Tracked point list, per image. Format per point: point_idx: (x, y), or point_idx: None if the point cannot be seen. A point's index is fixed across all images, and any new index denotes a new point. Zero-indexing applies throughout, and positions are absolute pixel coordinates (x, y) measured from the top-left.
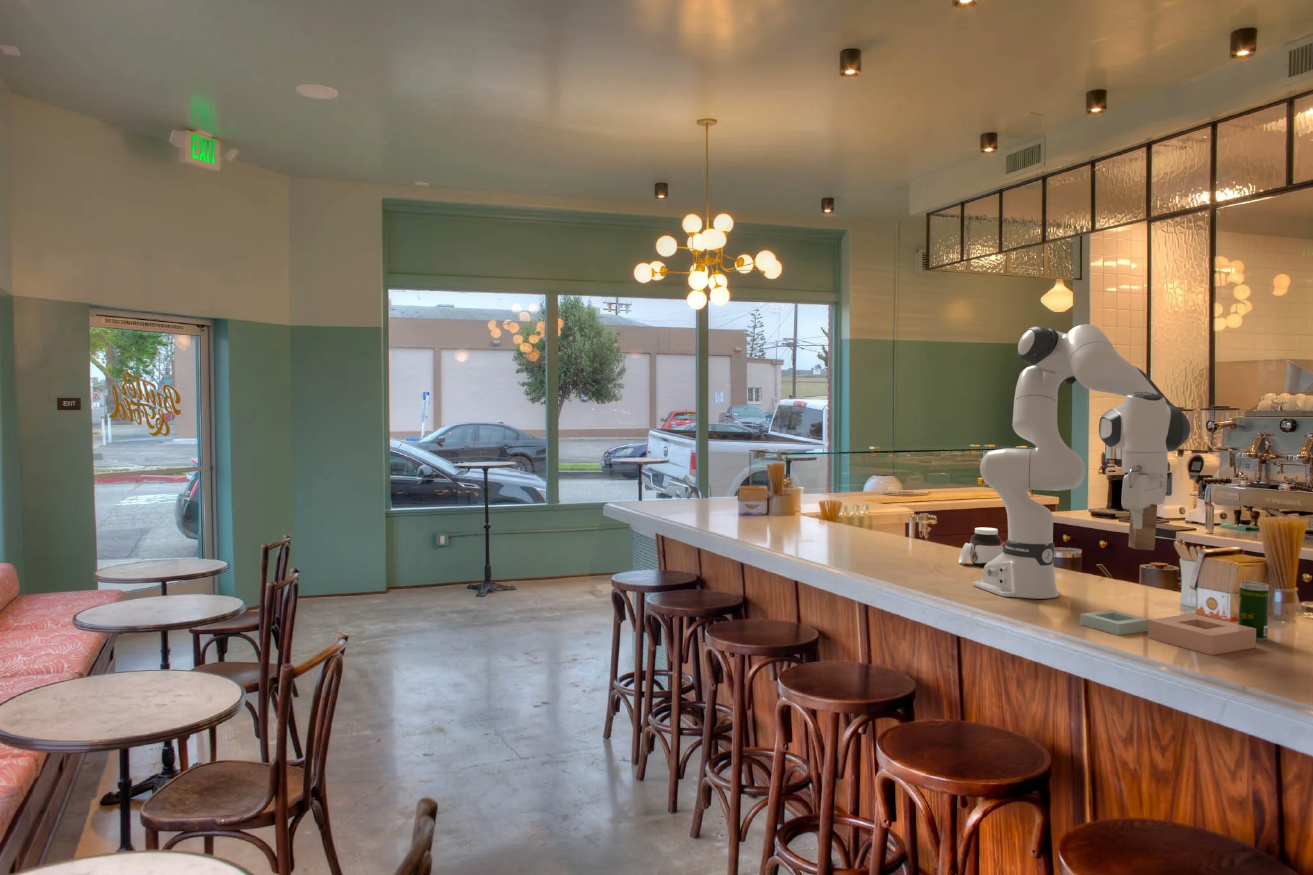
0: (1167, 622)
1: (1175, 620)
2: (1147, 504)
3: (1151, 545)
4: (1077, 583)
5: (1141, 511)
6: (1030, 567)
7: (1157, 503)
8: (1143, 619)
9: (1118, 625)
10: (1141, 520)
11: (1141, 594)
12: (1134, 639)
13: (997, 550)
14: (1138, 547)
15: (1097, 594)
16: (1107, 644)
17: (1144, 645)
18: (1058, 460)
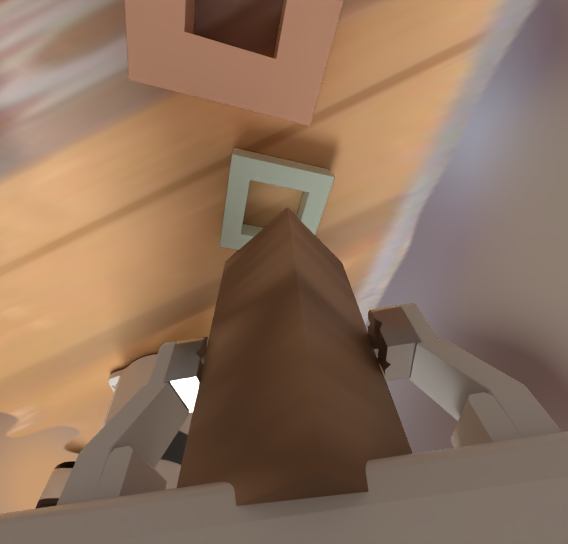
0: (301, 75)
1: (258, 71)
2: (550, 482)
3: (299, 227)
4: (20, 386)
5: (539, 406)
6: (189, 414)
7: (80, 525)
8: (244, 165)
9: (333, 177)
10: (448, 343)
11: None
12: (338, 132)
13: (59, 489)
14: (334, 257)
15: (53, 339)
16: (418, 148)
17: (376, 90)
18: None
